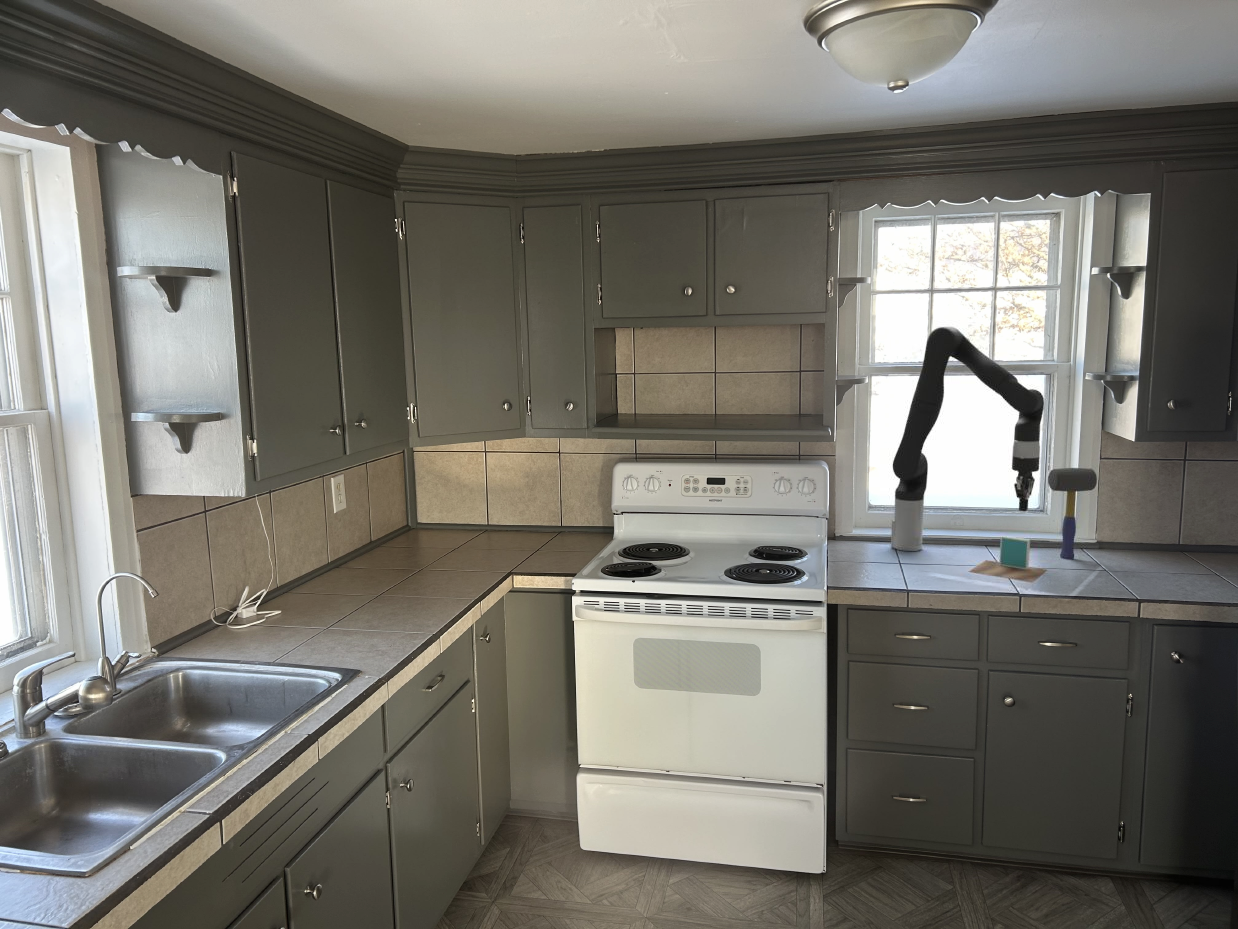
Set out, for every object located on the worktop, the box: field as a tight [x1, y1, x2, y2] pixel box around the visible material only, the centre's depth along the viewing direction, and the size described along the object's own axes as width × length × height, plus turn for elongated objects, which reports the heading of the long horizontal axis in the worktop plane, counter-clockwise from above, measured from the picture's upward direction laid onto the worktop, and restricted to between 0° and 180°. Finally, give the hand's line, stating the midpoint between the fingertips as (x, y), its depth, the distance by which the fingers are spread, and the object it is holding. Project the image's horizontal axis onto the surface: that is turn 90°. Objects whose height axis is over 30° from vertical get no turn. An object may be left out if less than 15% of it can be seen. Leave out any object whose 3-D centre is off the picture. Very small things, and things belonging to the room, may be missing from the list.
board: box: [968, 559, 1048, 583], centre depth 257 cm, size 18×16×1 cm
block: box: [998, 535, 1031, 569], centre depth 260 cm, size 8×2×9 cm, turn 49°
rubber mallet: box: [1047, 467, 1098, 560], centre depth 268 cm, size 12×8×30 cm, turn 88°
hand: (1023, 510), depth 263 cm, fingers closed
